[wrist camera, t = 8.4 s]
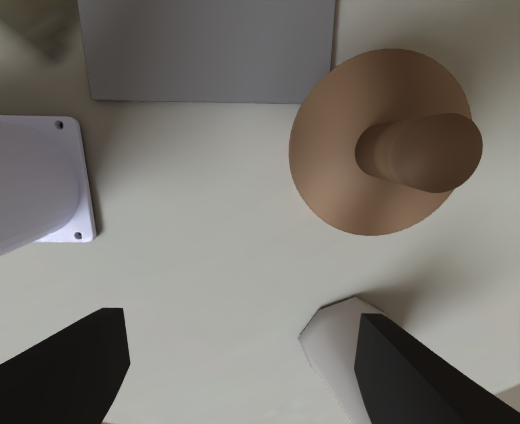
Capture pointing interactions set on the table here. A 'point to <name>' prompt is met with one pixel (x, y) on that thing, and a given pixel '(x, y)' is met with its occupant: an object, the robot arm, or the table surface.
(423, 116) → the lid
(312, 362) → the flask
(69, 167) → the robot arm
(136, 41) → the mat
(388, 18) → the table surface
